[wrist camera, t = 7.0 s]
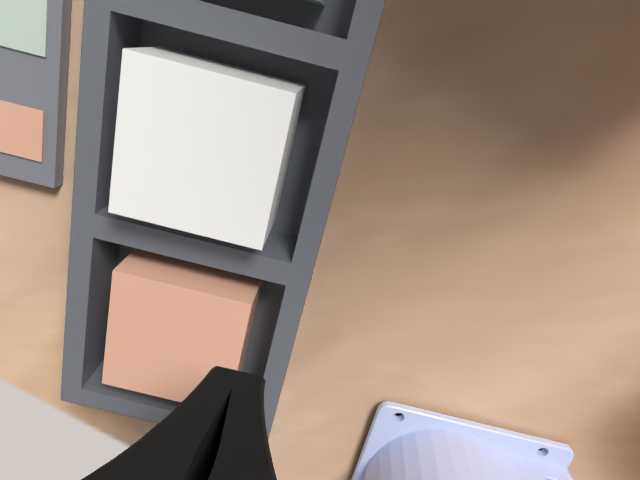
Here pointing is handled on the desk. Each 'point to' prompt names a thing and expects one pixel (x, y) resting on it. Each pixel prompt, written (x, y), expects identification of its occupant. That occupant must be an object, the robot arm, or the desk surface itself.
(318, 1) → the sage key
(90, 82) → the grey divided tray
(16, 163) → the card
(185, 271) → the terracotta key
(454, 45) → the desk surface
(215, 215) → the white key
